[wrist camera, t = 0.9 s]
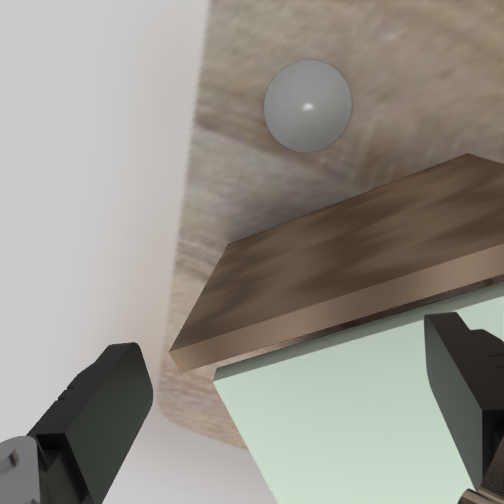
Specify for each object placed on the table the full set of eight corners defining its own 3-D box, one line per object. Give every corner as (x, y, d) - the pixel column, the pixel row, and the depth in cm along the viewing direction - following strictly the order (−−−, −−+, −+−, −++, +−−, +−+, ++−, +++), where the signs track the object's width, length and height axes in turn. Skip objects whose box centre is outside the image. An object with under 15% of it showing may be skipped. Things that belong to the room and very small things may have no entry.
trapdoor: (706, 192, 16) (792, 210, 13) (734, 458, 20) (806, 517, 17) (224, 344, 21) (212, 381, 18) (320, 532, 25) (322, 587, 22)
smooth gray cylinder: (328, 54, 27) (334, 43, 22) (353, 126, 28) (364, 131, 23) (260, 87, 28) (250, 83, 23) (286, 155, 30) (283, 166, 24)
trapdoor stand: (467, 153, 28) (630, 202, 14) (523, 359, 33) (687, 550, 19) (227, 245, 32) (168, 352, 18) (307, 414, 37) (308, 602, 23)
